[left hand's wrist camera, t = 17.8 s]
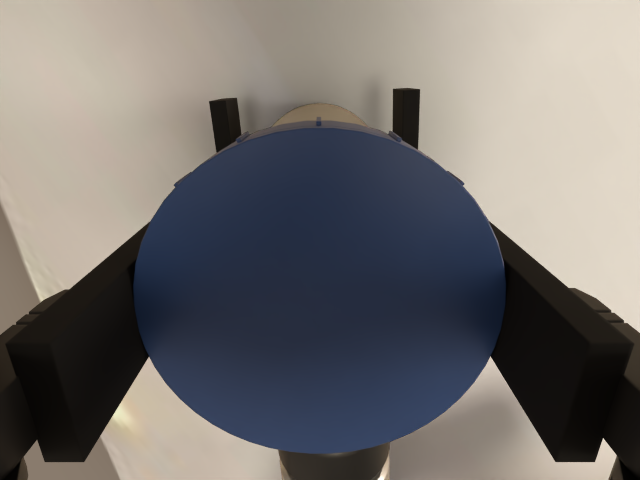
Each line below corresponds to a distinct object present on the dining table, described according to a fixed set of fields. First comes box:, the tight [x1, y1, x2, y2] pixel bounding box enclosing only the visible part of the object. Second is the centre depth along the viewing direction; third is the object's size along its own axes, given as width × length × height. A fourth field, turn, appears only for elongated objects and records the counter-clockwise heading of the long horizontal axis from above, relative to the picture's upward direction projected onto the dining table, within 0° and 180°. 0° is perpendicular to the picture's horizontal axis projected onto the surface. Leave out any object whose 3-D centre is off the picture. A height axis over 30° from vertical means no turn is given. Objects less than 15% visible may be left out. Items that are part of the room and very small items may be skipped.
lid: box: [133, 117, 506, 454], centre depth 11 cm, size 9×9×2 cm
